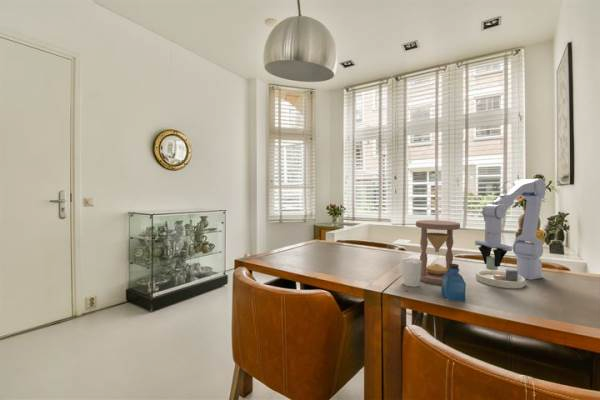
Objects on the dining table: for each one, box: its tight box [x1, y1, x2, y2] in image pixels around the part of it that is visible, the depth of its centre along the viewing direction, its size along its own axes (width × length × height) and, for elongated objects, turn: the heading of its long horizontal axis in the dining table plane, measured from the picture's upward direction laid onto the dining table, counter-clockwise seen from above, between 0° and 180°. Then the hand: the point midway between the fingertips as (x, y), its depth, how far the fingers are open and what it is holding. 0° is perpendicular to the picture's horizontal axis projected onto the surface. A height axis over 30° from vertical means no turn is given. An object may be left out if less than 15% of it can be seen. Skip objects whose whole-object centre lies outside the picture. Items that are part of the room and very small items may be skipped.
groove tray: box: [475, 269, 526, 289], centre depth 125 cm, size 17×17×2 cm
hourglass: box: [415, 219, 461, 286], centre depth 129 cm, size 18×18×25 cm
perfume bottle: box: [441, 263, 467, 302], centre depth 107 cm, size 6×6×12 cm
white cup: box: [401, 257, 422, 288], centre depth 121 cm, size 8×8×10 cm
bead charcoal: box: [505, 268, 518, 281], centre depth 120 cm, size 4×4×5 cm
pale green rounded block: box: [485, 255, 499, 271], centre depth 123 cm, size 4×4×5 cm
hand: (492, 264), depth 123 cm, fingers closed on pale green rounded block, 4 cm apart
